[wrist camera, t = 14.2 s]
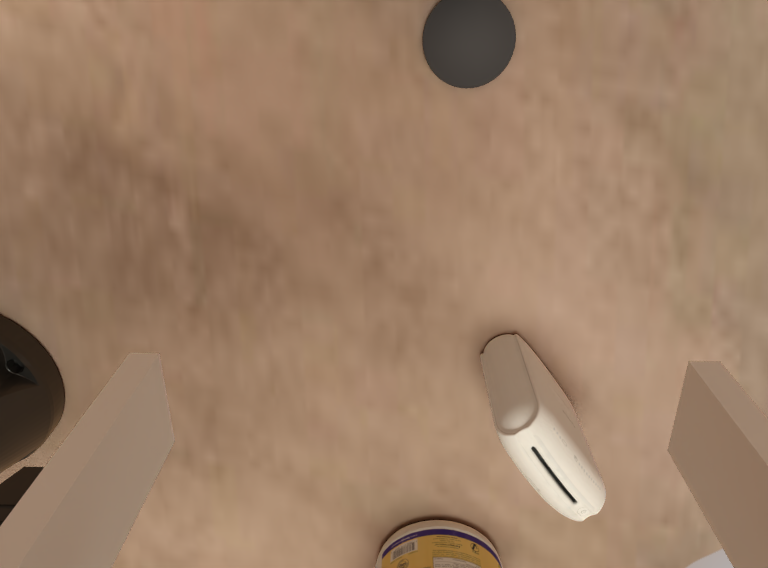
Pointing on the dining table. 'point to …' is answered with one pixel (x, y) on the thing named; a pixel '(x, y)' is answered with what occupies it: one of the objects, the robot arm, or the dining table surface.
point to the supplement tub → (438, 547)
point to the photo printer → (541, 428)
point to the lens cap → (469, 41)
